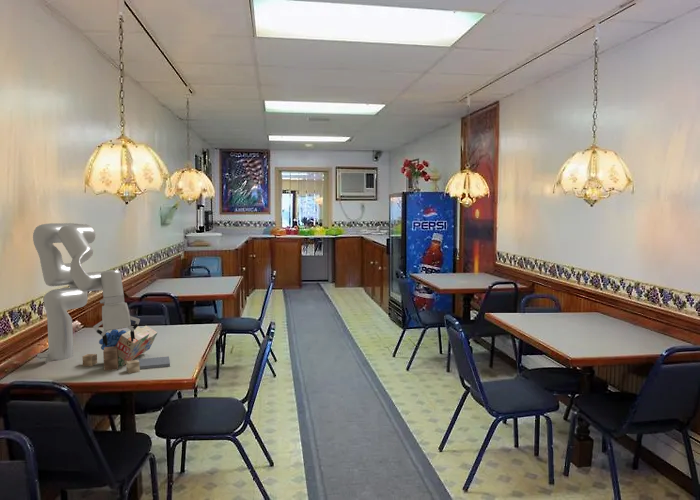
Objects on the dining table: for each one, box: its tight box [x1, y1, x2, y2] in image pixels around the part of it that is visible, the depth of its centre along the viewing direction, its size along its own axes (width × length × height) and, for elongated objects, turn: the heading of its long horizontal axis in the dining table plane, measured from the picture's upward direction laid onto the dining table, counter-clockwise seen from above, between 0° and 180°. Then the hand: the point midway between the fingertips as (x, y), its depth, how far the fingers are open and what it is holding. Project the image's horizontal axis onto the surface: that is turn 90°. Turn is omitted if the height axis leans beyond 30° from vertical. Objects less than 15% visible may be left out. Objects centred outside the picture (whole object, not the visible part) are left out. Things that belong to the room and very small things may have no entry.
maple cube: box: [125, 359, 141, 374], centre depth 215 cm, size 4×4×4 cm
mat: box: [138, 355, 171, 370], centre depth 225 cm, size 12×12×1 cm
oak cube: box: [82, 353, 98, 367], centre depth 225 cm, size 4×4×4 cm
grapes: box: [98, 329, 127, 351], centre depth 228 cm, size 12×7×12 cm
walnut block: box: [102, 346, 120, 372], centre depth 218 cm, size 5×5×8 cm
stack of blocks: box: [116, 325, 158, 367], centre depth 231 cm, size 21×6×12 cm
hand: (119, 343), depth 217 cm, fingers open, 9 cm apart
